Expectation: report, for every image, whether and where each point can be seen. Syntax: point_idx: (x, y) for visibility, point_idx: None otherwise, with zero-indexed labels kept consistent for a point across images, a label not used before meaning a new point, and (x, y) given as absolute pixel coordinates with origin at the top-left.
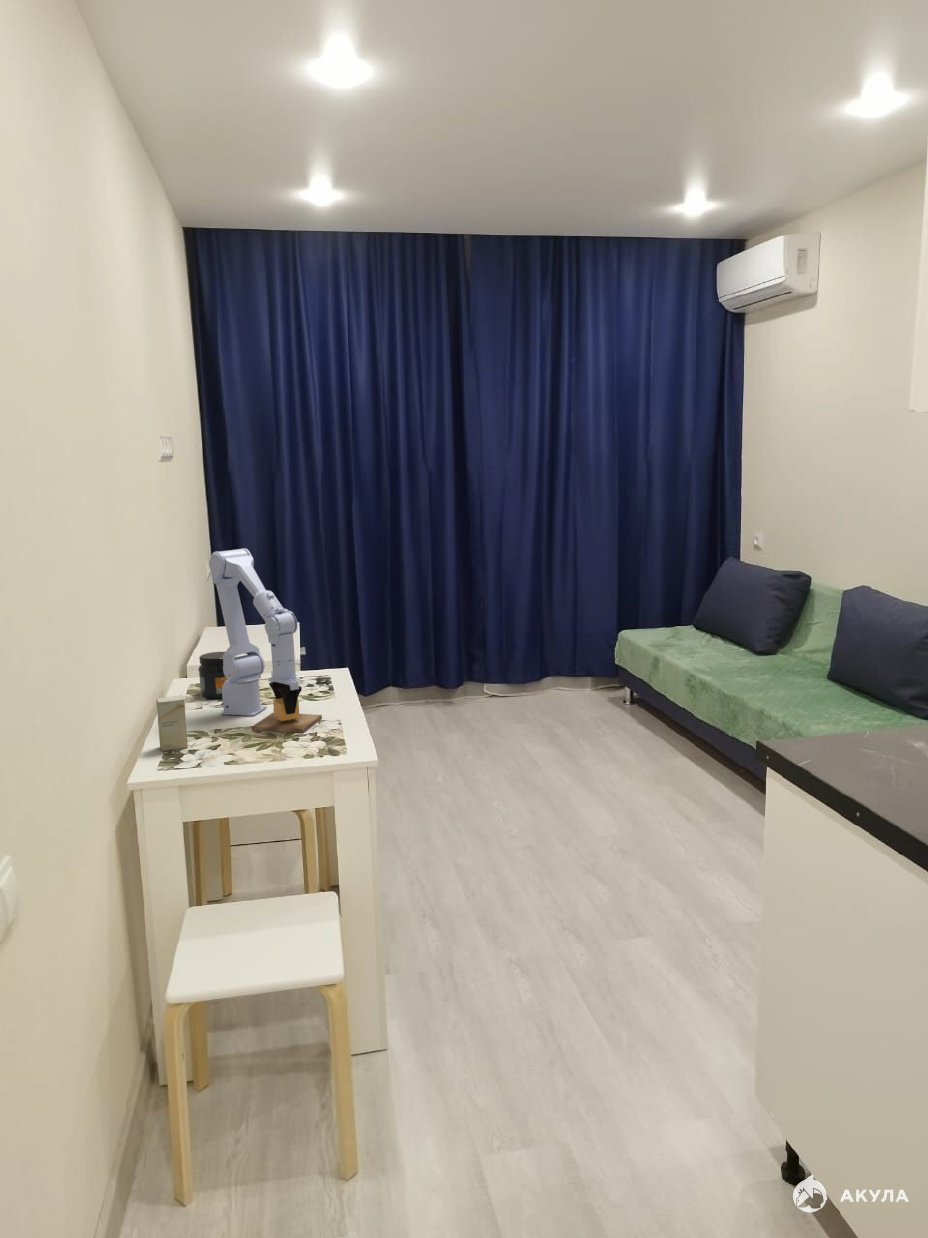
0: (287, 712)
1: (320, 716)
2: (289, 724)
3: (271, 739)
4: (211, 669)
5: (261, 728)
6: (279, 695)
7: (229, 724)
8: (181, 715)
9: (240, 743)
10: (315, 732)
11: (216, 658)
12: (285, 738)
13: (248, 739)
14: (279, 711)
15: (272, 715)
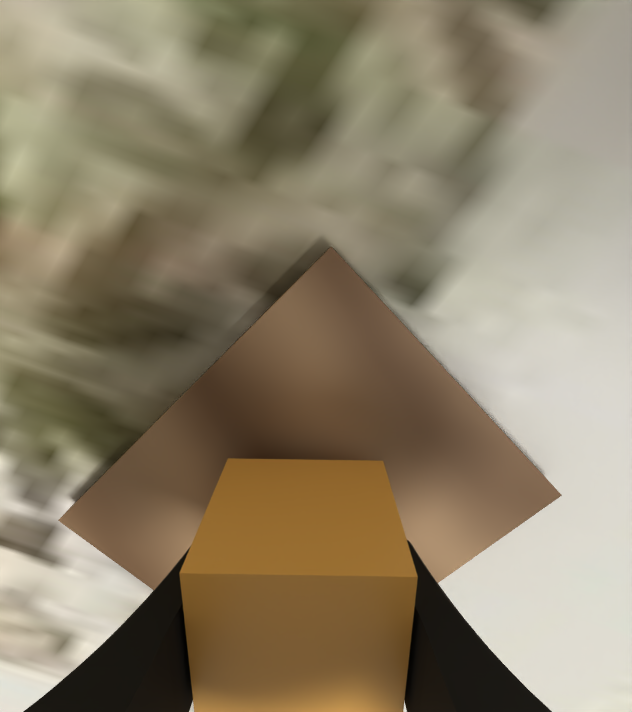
0: (187, 551)
1: None
2: (209, 488)
3: (36, 291)
4: None
5: (272, 305)
6: (429, 680)
7: (616, 136)
8: None
9: (43, 34)
10: (55, 556)
11: None
12: (16, 378)
13: (119, 137)
14: (232, 508)
15: (496, 471)
